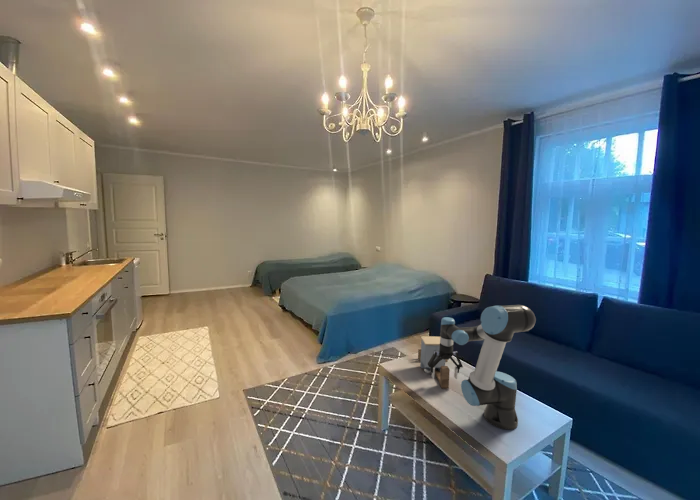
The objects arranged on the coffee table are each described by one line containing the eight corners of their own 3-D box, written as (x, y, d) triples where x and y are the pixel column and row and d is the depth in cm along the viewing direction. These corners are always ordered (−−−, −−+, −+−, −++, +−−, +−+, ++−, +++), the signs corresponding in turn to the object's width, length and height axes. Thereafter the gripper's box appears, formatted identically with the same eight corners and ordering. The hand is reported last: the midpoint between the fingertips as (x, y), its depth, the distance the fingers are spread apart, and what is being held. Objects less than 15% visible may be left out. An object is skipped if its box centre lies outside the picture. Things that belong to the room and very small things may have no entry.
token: (432, 373, 191) (432, 371, 191) (425, 373, 191) (425, 371, 191) (430, 369, 196) (430, 367, 196) (423, 369, 196) (423, 367, 196)
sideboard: (445, 376, 188) (447, 344, 186) (424, 376, 188) (425, 344, 186) (439, 366, 201) (441, 336, 198) (419, 365, 201) (420, 336, 198)
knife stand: (447, 361, 207) (448, 352, 207) (419, 361, 207) (419, 351, 206) (445, 358, 211) (446, 349, 210) (417, 358, 211) (418, 349, 210)
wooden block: (448, 388, 174) (449, 369, 173) (441, 388, 174) (442, 369, 173) (439, 373, 191) (440, 355, 190) (433, 373, 191) (434, 355, 190)
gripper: (465, 341, 177) (462, 374, 180) (423, 340, 177) (421, 373, 180) (470, 347, 170) (467, 381, 172) (427, 346, 170) (425, 380, 172)
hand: (444, 377), depth 176 cm, fingers open, 13 cm apart
